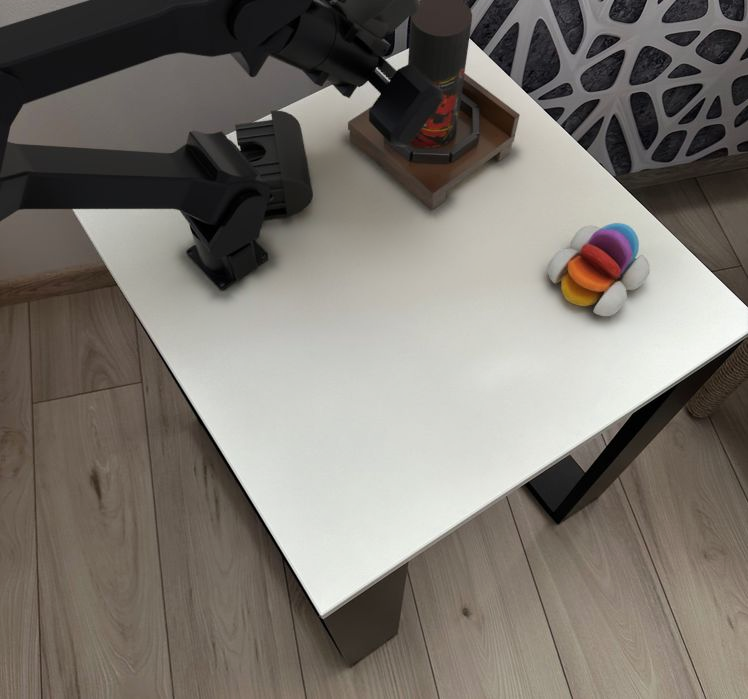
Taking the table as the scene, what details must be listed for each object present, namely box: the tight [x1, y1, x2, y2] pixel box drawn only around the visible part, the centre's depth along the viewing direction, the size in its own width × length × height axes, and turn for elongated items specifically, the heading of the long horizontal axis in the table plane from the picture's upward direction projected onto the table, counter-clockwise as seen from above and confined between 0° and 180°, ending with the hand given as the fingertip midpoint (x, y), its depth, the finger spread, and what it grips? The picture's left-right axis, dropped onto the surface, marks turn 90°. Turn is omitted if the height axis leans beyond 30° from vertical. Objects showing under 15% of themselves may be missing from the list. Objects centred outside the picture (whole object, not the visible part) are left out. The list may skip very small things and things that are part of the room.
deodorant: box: [407, 0, 473, 148], centre depth 81 cm, size 6×6×15 cm
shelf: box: [347, 73, 521, 211], centre depth 87 cm, size 14×13×6 cm
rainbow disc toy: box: [547, 222, 651, 317], centre depth 78 cm, size 8×10×7 cm
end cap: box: [234, 110, 314, 222], centre depth 84 cm, size 10×7×7 cm
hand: (407, 84), depth 79 cm, fingers open, 9 cm apart
